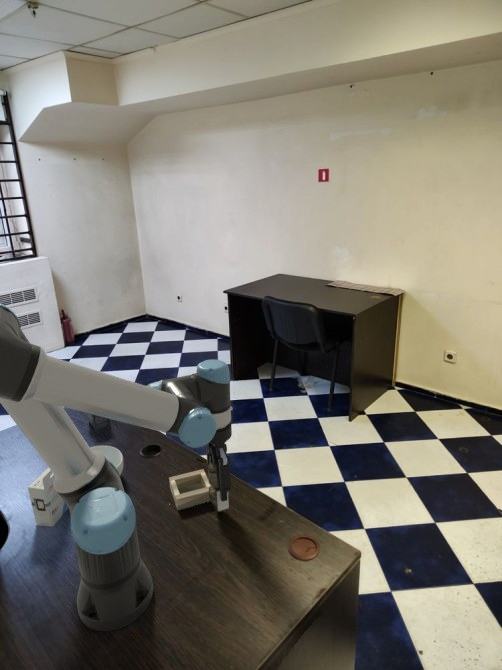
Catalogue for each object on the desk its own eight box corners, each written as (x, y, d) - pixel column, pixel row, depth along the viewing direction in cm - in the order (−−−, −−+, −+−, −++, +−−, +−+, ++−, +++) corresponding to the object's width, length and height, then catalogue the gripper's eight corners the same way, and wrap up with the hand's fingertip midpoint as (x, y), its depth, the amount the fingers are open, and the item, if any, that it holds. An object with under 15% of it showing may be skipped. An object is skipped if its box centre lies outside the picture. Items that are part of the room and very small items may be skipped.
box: (88, 421, 163) (84, 395, 160) (103, 417, 166) (100, 391, 163) (95, 430, 157) (90, 403, 154) (111, 425, 160) (107, 399, 157)
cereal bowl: (56, 481, 131) (52, 460, 129) (110, 458, 141) (107, 439, 139) (78, 510, 119) (74, 488, 116) (135, 483, 129) (133, 462, 127)
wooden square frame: (213, 500, 121) (213, 489, 120) (177, 510, 118) (176, 499, 117) (204, 479, 130) (203, 468, 129) (169, 487, 127) (168, 477, 126)
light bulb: (235, 509, 117) (233, 461, 112) (222, 522, 113) (220, 472, 108) (217, 501, 120) (215, 454, 115) (205, 514, 116) (202, 465, 111)
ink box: (55, 502, 122) (46, 456, 117) (71, 505, 121) (63, 458, 116) (35, 525, 114) (24, 476, 109) (52, 527, 113) (42, 479, 108)
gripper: (243, 437, 101) (245, 520, 109) (219, 403, 118) (222, 477, 125) (211, 445, 99) (216, 529, 106) (191, 408, 115) (196, 483, 123)
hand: (219, 501), depth 116 cm, fingers closed on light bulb, 5 cm apart
